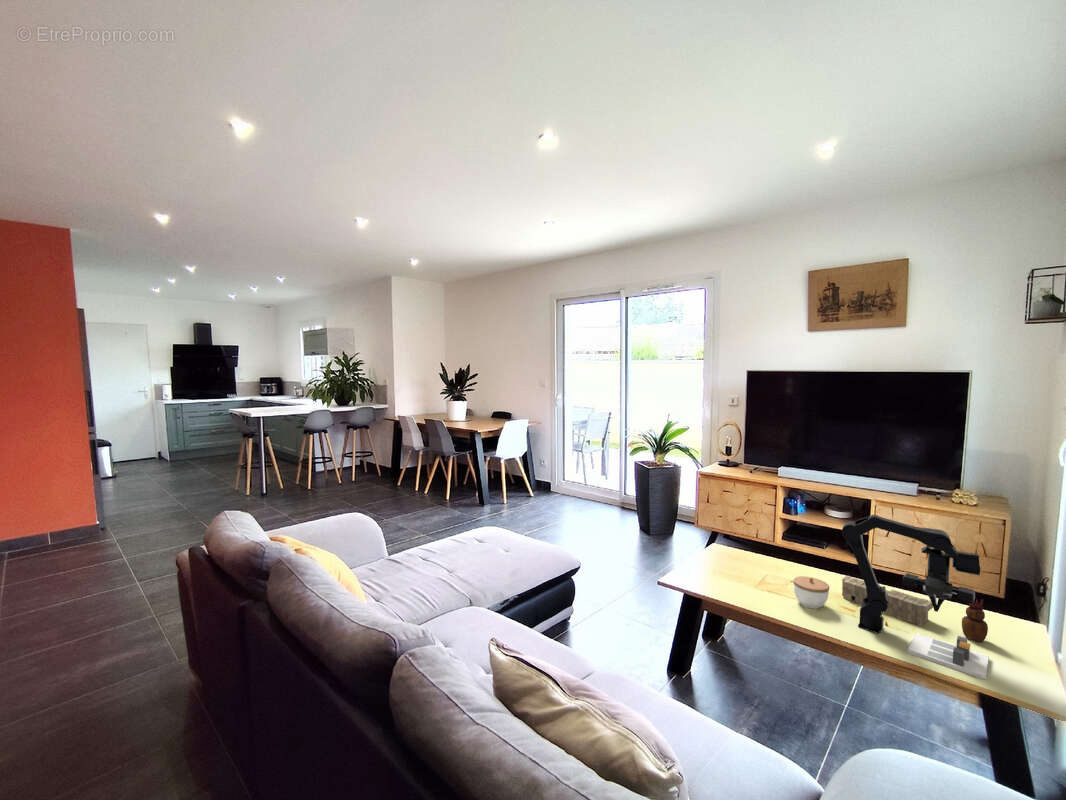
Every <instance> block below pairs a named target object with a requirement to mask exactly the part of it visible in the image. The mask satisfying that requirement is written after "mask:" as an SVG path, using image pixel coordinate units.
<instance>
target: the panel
mask: <svg viewBox="0 0 1066 800" xmlns="http://www.w3.org/2000/svg"><path fill="white" fill-rule="evenodd" d="M960 641H963V642H966V643H968V638H967V637H963V636H960V635H957V637H956V644H953V643H949V642H947V641H943V640H940V639H936V638H933V637H932V636H928V635H924V634H921V633H917V632H915V633H914V635H913V637H912V639H911V641H910V643H909V646H908V648H907V653H908V654H910V655H913V656H916V657H919V658H921V659H925V660H928V661H931V662H934V663H936V664H940V665H942V666H945V667H947V668H950V669H954V670H956V671H959V672H962V673H966V674H968V675H971V676H974V677H977V678H980V679H981V680H982V679H983V680H986V676H987V672H988V665H989V660H990V659H989V658H990V655H987V654H984V653H981V652H978V651H974V650H971V649H970V656H969V661H968V660H965V659H964V650H962V649H959V643H960Z"/></svg>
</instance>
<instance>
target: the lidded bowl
mask: <svg viewBox="0 0 1066 800" xmlns="http://www.w3.org/2000/svg"><path fill="white" fill-rule="evenodd" d="M829 591H830V585H829V584H828V583H827V582H826V581H823V580H822V579H819V578H816V577H812V576H806V575H805V576H802V575H801V576H795V577H794V578H793V593H794V595H795V597H796V599H797V600H798V601H799V602H800V604H801V605H802V606H804V607H806V608H808V609H809V608H810V609H815V610H817V609H820V608H821V607H823V606H825V604H826V603H827V601H828V598H829V593H830V592H829Z"/></svg>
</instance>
